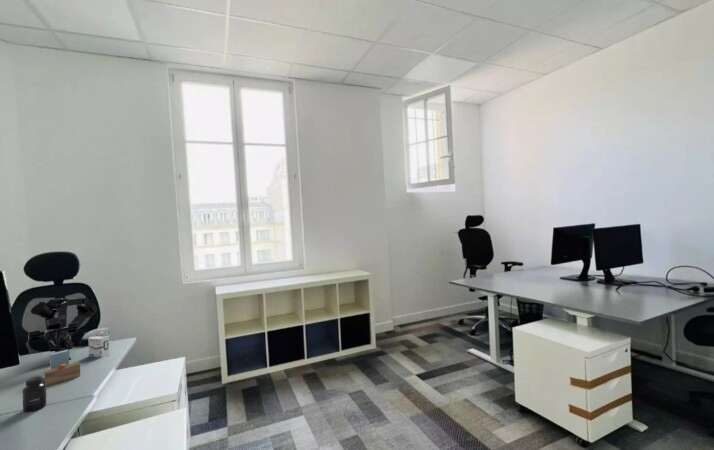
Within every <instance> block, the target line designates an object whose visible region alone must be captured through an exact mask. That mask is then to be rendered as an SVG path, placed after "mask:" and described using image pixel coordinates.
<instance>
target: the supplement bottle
mask: <svg viewBox="0 0 714 450" xmlns="http://www.w3.org/2000/svg"><path fill="white" fill-rule="evenodd" d="M43 378H44V377H43V376H42V375H38V376H32V377H29V378H27V379H26V380H25V387H24V388H23V389H22V411H23V412H24V413H33V412H36V411H39V410H41V409H43V408H44V407H46V405H47V386H46V384H45V383H44V380H43Z"/></svg>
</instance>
